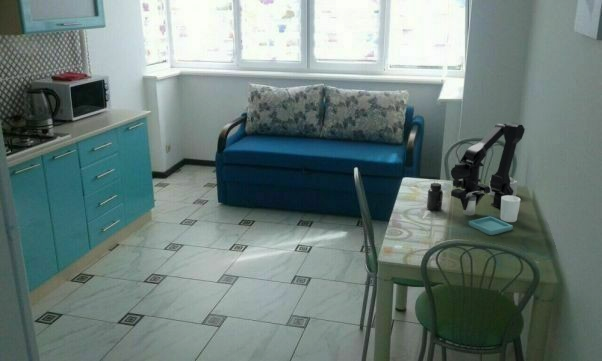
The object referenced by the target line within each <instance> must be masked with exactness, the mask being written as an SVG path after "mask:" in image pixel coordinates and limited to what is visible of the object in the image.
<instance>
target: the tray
mask: <svg viewBox="0 0 602 361" xmlns="http://www.w3.org/2000/svg"><path fill="white" fill-rule="evenodd" d="M468 226H470V227H471V228H474V229H476V230H478V231H480V232H482V233H484V234H487V235H489V236H494V235H498V234H502V233H505V232H509V231H512V230H513V229H514V228H513V227H514V226H513V225H512V224H509V222H506V221H503V220H501V219H498V218H496V217H493V216H491V215H490V216H486V217H485V216H484V217H481V218H477V219H472V220H469V221H468Z"/></svg>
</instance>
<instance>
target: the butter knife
mask: <svg viewBox="0 0 602 361" xmlns="http://www.w3.org/2000/svg"><path fill="white" fill-rule="evenodd" d="M431 211H432V210H424V213H423V216H422V218H421V220H426V217H427V216H428V215H429V214H430V213H432V212H431Z"/></svg>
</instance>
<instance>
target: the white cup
mask: <svg viewBox="0 0 602 361" xmlns="http://www.w3.org/2000/svg"><path fill="white" fill-rule="evenodd" d="M520 205H521V198H520V197H518V196H517V195H516V196H510V195H506V196H502V197H501V208H500V220H501V221H503V222H505V223H515V222H517V221H518V220H517V219H518V215H519V210H520Z"/></svg>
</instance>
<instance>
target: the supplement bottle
mask: <svg viewBox="0 0 602 361" xmlns="http://www.w3.org/2000/svg"><path fill="white" fill-rule="evenodd" d="M429 186H430V188H429V189H428V191H427V198H426V199H427V200H426V209H427V210H428V211H433V212H437V211H438V212H439V211H441V210H442V208H443V199H444V198H443V195H444V191H443V189H442V184H441V183H437V182H432V183H430V185H429Z"/></svg>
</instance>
